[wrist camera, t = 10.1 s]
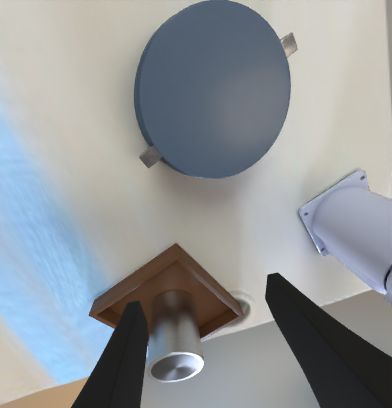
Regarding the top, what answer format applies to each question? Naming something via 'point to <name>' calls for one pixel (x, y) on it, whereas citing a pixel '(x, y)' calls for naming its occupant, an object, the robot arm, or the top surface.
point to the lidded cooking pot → (212, 89)
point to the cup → (174, 338)
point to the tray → (167, 281)
